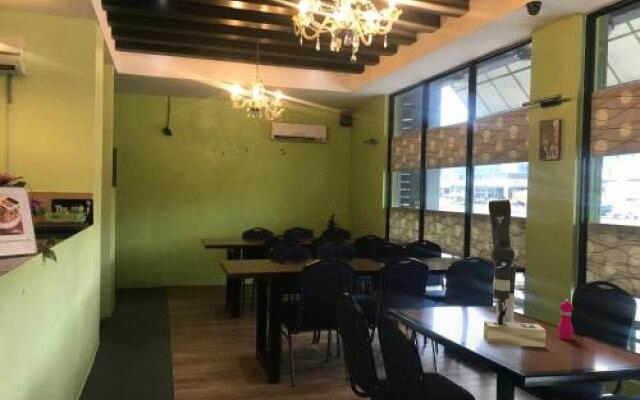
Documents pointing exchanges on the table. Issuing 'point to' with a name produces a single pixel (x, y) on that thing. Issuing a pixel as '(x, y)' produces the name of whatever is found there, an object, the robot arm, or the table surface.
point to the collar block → (514, 334)
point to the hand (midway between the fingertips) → (500, 323)
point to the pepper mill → (565, 321)
